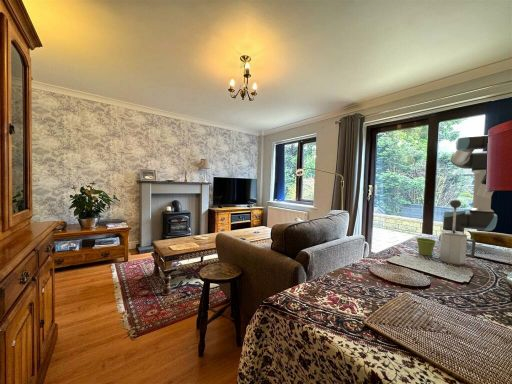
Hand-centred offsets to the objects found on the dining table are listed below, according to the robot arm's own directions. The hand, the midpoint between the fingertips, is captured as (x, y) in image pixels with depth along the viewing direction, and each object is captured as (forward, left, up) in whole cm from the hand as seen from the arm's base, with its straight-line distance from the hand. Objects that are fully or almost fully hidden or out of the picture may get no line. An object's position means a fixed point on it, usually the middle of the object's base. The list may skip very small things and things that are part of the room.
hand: (483, 196), depth 117 cm
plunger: (+9, -13, -23) cm, 28 cm away
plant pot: (+3, -24, -36) cm, 43 cm away
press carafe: (+9, -11, -36) cm, 38 cm away
